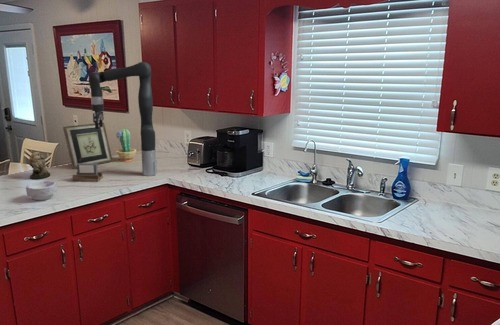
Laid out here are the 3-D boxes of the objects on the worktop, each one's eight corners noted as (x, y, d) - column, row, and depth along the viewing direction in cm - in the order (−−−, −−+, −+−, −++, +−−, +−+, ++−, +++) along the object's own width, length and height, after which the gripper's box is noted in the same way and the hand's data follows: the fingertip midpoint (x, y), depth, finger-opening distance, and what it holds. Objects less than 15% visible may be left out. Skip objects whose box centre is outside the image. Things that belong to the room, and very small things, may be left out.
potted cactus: (118, 158, 332) (117, 127, 327) (138, 158, 334) (136, 127, 328) (114, 162, 317) (112, 130, 312) (135, 162, 319) (133, 130, 313)
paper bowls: (20, 200, 226) (19, 186, 224) (43, 192, 240) (42, 179, 238) (41, 203, 220) (40, 189, 219) (63, 196, 234) (62, 182, 233)
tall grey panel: (79, 176, 270) (78, 163, 268) (98, 176, 270) (97, 163, 268) (77, 178, 266) (76, 164, 264) (96, 178, 267) (95, 164, 265)
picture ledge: (78, 177, 273) (77, 171, 272) (102, 177, 274) (102, 171, 273) (72, 181, 263) (72, 175, 262) (98, 181, 264) (97, 175, 263)
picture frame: (73, 169, 295) (69, 127, 289) (66, 167, 301) (62, 126, 294) (112, 161, 321) (110, 123, 314) (105, 160, 326) (102, 122, 320)
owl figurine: (47, 179, 268) (44, 154, 264) (27, 181, 265) (24, 155, 261) (52, 172, 285) (49, 148, 281) (33, 174, 282) (30, 149, 278)
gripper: (95, 102, 278) (96, 126, 282) (88, 104, 265) (89, 129, 268) (106, 102, 279) (107, 126, 282) (99, 104, 265) (101, 129, 269)
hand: (99, 127), depth 275 cm, fingers open, 8 cm apart
